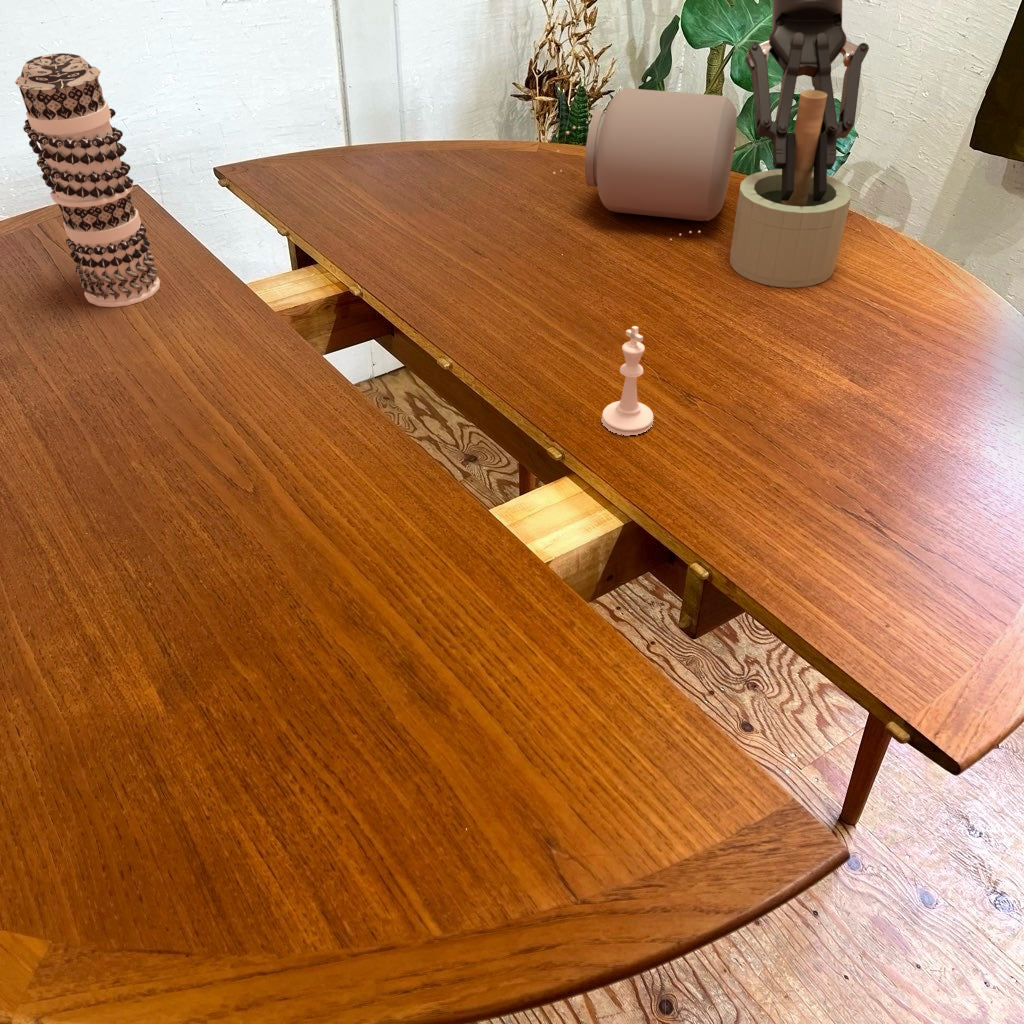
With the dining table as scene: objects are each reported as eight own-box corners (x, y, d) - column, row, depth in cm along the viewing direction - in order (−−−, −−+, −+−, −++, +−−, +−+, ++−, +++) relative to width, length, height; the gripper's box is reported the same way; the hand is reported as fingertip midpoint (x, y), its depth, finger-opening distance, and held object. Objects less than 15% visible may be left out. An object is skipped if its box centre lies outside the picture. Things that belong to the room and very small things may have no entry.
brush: (811, 242, 116) (842, 87, 105) (810, 264, 112) (843, 104, 100) (760, 238, 117) (786, 83, 106) (758, 259, 113) (784, 101, 101)
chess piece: (627, 399, 93) (634, 307, 86) (664, 422, 90) (675, 328, 84) (590, 419, 91) (595, 326, 84) (627, 443, 88) (635, 348, 81)
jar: (700, 225, 111) (506, 163, 117) (700, 274, 125) (527, 216, 131) (762, 80, 112) (567, 25, 118) (755, 145, 127) (582, 93, 132)
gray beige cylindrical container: (834, 246, 118) (850, 173, 112) (834, 292, 109) (852, 216, 103) (733, 236, 120) (743, 165, 114) (725, 281, 111) (736, 206, 105)
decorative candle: (77, 280, 113) (1, 54, 97) (158, 265, 116) (96, 42, 100) (84, 315, 107) (3, 79, 91) (169, 298, 110) (105, 66, 93)
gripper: (868, 12, 111) (866, 210, 109) (730, 11, 112) (725, 208, 110) (890, -29, 103) (888, 183, 102) (741, -29, 104) (737, 180, 103)
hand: (803, 195), depth 106 cm, fingers closed on brush, 3 cm apart
